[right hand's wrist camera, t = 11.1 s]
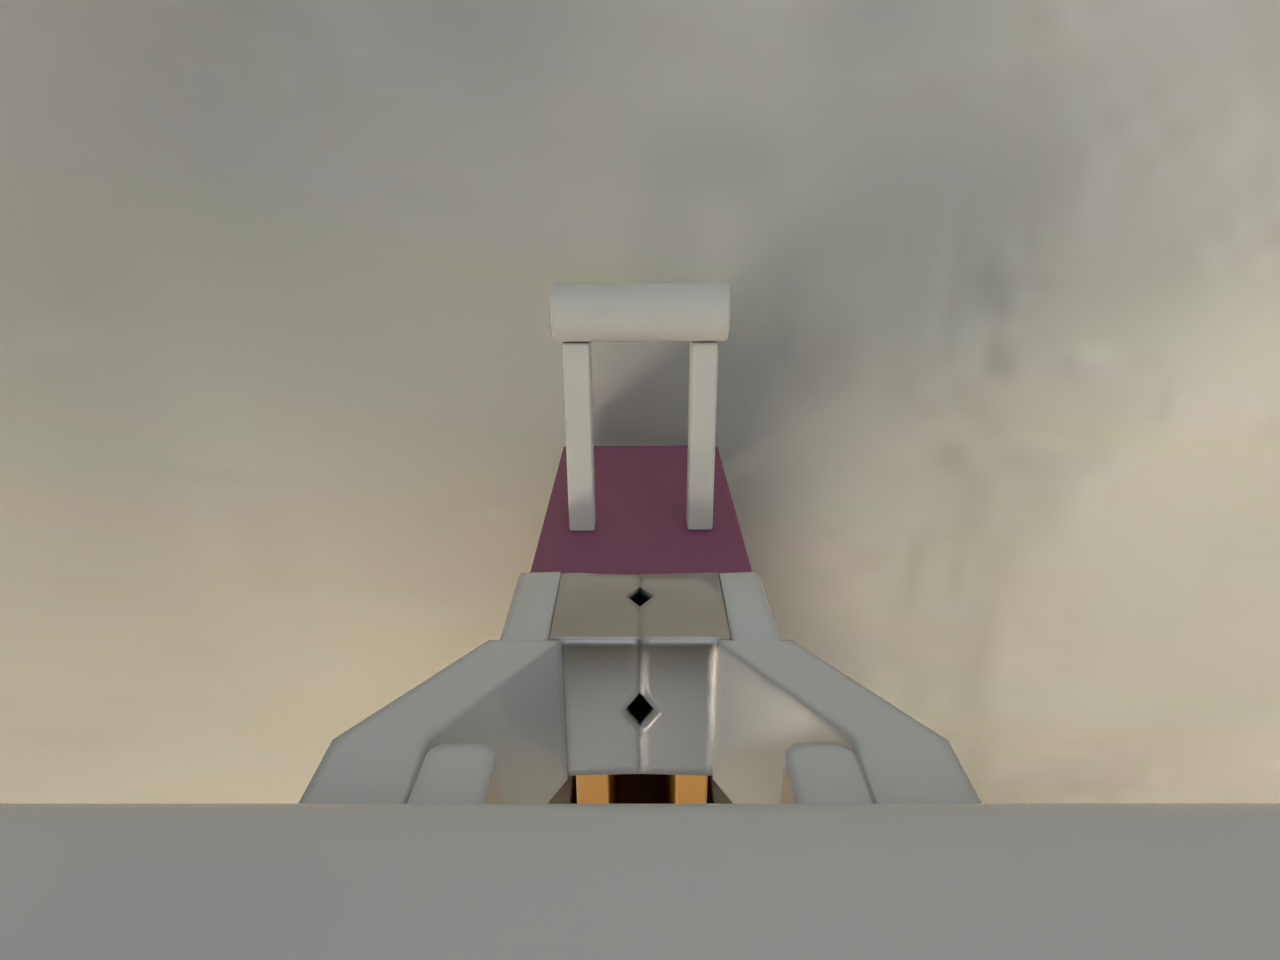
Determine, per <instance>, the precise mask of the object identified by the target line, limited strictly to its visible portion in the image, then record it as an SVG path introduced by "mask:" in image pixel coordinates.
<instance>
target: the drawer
mask: <svg viewBox="0 0 1280 960" xmlns="http://www.w3.org/2000/svg"><path fill="white" fill-rule="evenodd" d="M549 308H550V328H551V335H552V338H553V340H554V341H555V342H563V344H562V362H563V387H564V411H565V435H566V446H565V447H564V448H563V452H562V456H561V460H560V463H559V467H558V471H557V475H556V478H555V482H554V486H553V490H552V493H551V497H550V501H549V505H548V508H547V512H546V516H545V520H544V524H543V527H542V531H541V535H540V539H539V542H538V546H537V550H536V554H535V557H534V561H533V565H532V569H531V572H530V573H533V572H560V573H561V574H563V573H607V574H673V573H715V572H718V573H737V572H752V570H751V566H750V563H749V559H748V556H747V552H746V548H745V545H744V541H743V538H742V534H741V530H740V527H739V523H738V520H737V516H736V512H735V509H734V505H733V502H732V498H731V494H730V491H729V487H728V484H727V480H726V477H725V473H724V469H723V466H722V462H721V459H720V455H719V451H718V448H717V446H715V439H716V410H717V380H718V350H719V346H718V343H717V341H726V340H727V339H728V336H729V331H730V320H731V296H730V288H729V285H728V284H727V283H555V284H553V285H552V286H551V290H550V306H549ZM667 341H690V354H689V405H688V446H594V439H593V403H592V366H591V342H667ZM707 784H708V776H703V775H666V774H612V775H576V789H577V804H707Z"/></svg>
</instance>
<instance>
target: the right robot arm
mask: <svg viewBox="0 0 1280 960" xmlns="http://www.w3.org/2000/svg"><path fill="white" fill-rule="evenodd" d="M612 774H666V775H703V776H713V780H714V781H715V782H716V784H717V785H718V786H719V787H720V788H721V790H722V791H723V792H724V793H725V795H726V796H727V797H728V798H729V799H730V801H731V802H732V803H733V804H548V802H549V801H550V800H551V799H552V798H553V796H554V795H555V794H556V793H557V792H558V790H559V789H560V788H561V787H562V786H563V784H564V783H565V782H566V781H567V776H576V775H612ZM0 960H1280V804H982V803H981V801H980V799H979V798H978V796H977V794H976V792H975V790H974V788H973V786H972V784H971V783H970V781H969V779H968V777H967V775H966V773H965V771H964V769H963V768H962V766H961V764H960V762H959V760H958V758H957V756H956V754H955V753H954V751H953V749H952V747H951V745H950V743H949V741H948V740H946V739H945V738H943V737H941V736H940V735H938V734H937V733H935V732H934V731H932V730H930V729H929V728H927V727H926V726H924V725H923V724H921V723H920V722H918V721H916V720H915V719H913V718H912V717H910V716H909V715H907V714H905V713H904V712H902V711H901V710H899V709H898V708H896V707H895V706H893V705H891V704H890V703H888V702H887V701H885V700H884V699H882V698H881V697H879V696H877V695H876V694H874V693H873V692H871V691H870V690H868V689H866V688H865V687H863V686H862V685H860V684H859V683H857V682H856V681H854V680H852V679H851V678H849V677H848V676H846V675H845V674H843V673H842V672H840V671H838V670H837V669H835V668H834V667H832V666H831V665H829V664H827V663H826V662H824V661H823V660H821V659H820V658H818V657H817V656H815V655H813V654H812V653H810V652H809V651H807V650H806V649H804V648H803V647H801V646H799V645H798V644H796V643H795V642H793V641H792V640H780V639H779V635H778V632H777V629H776V625H775V622H774V619H773V615H772V612H771V609H770V605H769V602H768V599H767V595H766V592H765V589H764V585H763V582H762V579H761V576H760V574H759V573H757V572H737V573H718V572H715V573H673V574H607V573H563V574H561V573H560V572H533V573H522V574H521V575H520V576H519V578H518V581H517V585H516V588H515V591H514V595H513V598H512V601H511V605H510V608H509V612H508V615H507V618H506V622H505V625H504V628H503V632H502V635H501V638H500V640H488V641H487V642H485V643H484V644H482V645H481V646H479V647H477V648H476V649H474V650H473V651H471V652H470V653H468V654H466V655H465V656H463V657H462V658H460V659H459V660H457V661H455V662H454V663H452V664H451V665H449V666H448V667H446V668H445V669H443V670H441V671H440V672H438V673H437V674H435V675H434V676H432V677H430V678H429V679H427V680H426V681H424V682H423V683H421V684H419V685H418V686H416V687H415V688H413V689H412V690H410V691H408V692H407V693H405V694H404V695H402V696H401V697H399V698H397V699H396V700H394V701H393V702H391V703H390V704H388V705H387V706H385V707H383V708H382V709H380V710H379V711H377V712H376V713H374V714H372V715H371V716H369V717H368V718H366V719H365V720H363V721H361V722H360V723H358V724H357V725H355V726H354V727H352V728H350V729H349V730H347V731H346V732H344V733H343V734H341V735H340V736H338V737H336V738H335V739H333V740H332V742H331V744H330V746H329V748H328V750H327V751H326V753H325V755H324V757H323V759H322V761H321V762H320V764H319V766H318V768H317V770H316V772H315V774H314V775H313V777H312V779H311V781H310V783H309V785H308V787H307V788H306V790H305V792H304V794H303V796H302V798H301V800H300V801H299V803H298V804H0Z"/></svg>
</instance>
